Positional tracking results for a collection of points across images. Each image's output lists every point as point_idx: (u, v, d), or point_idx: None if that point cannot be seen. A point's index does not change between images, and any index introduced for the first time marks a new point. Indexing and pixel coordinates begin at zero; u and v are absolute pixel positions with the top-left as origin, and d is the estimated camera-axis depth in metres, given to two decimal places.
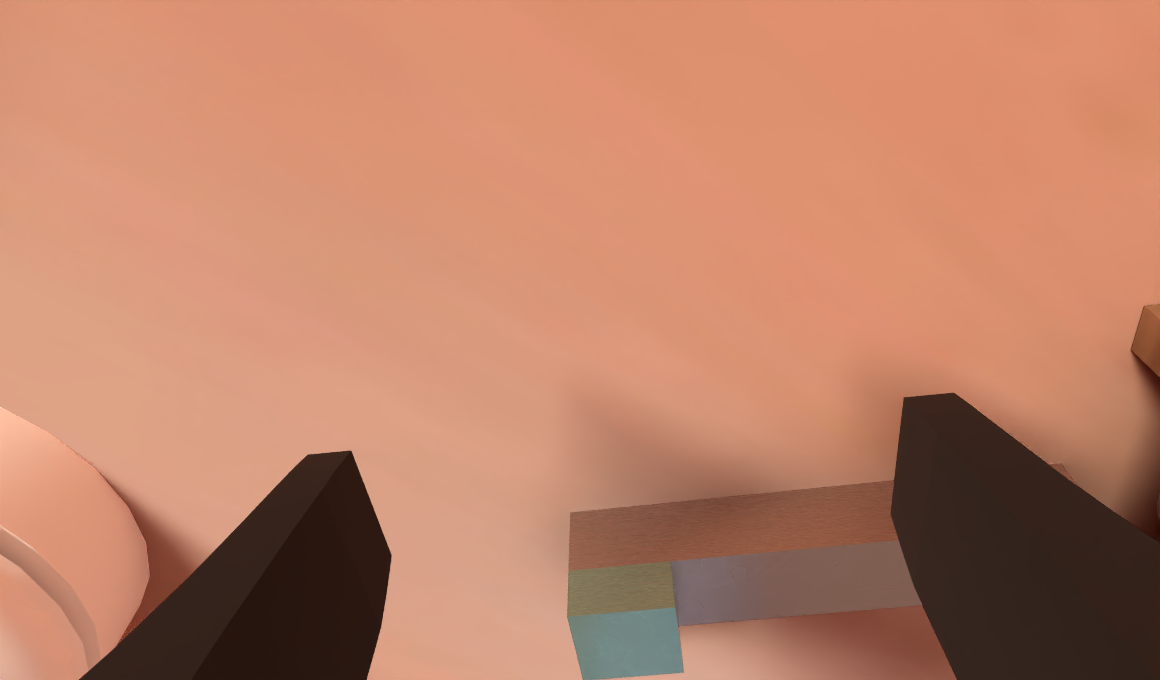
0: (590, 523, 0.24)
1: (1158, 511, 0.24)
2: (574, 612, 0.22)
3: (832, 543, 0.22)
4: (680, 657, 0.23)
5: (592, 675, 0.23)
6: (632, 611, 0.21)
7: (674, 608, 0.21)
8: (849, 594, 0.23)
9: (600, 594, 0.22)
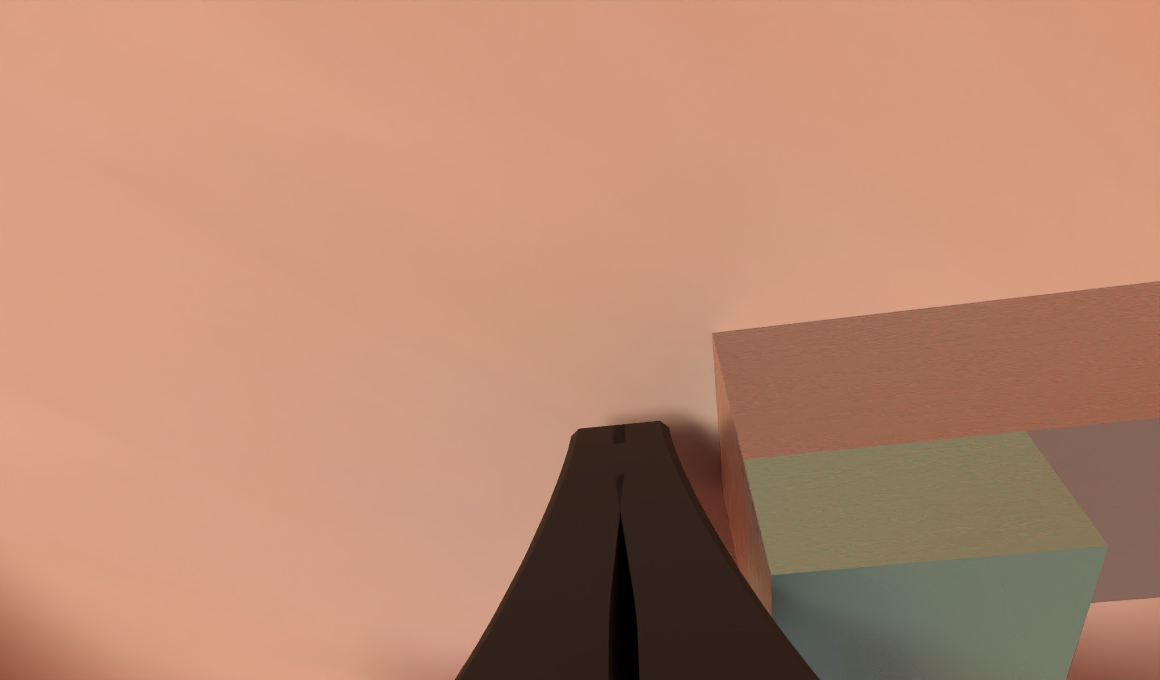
0: (771, 361, 0.10)
1: None
2: (789, 563, 0.07)
3: None
4: None
5: None
6: (972, 560, 0.07)
7: (1103, 549, 0.07)
8: None
9: (854, 514, 0.08)
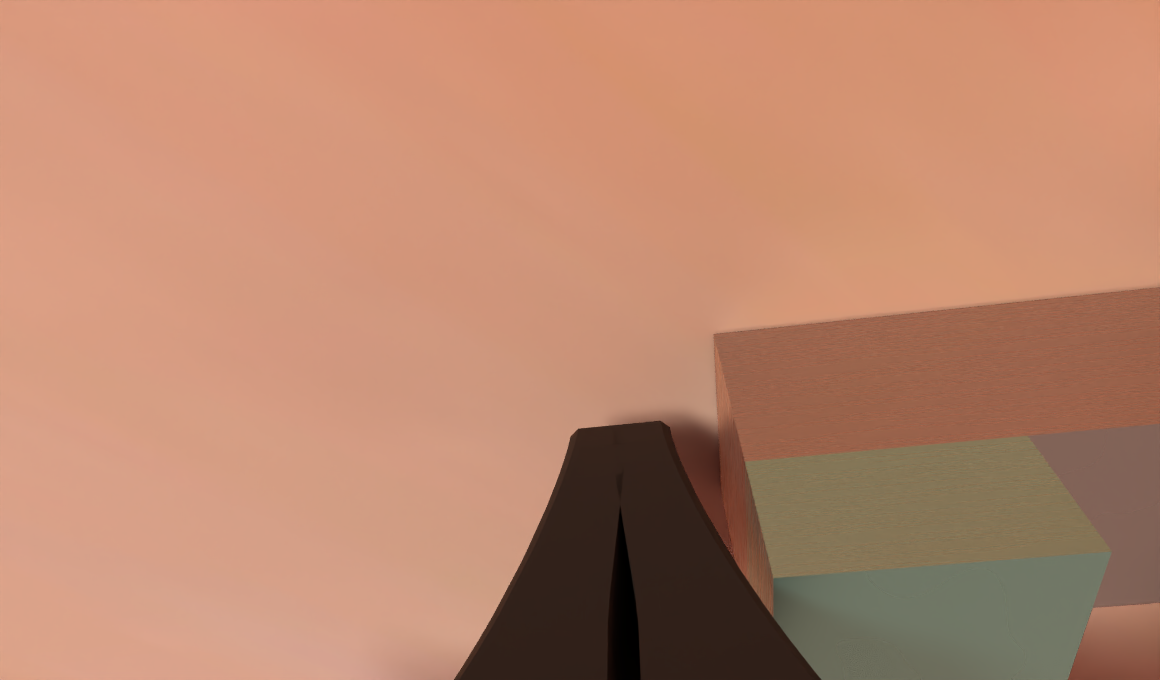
0: (772, 363, 0.10)
1: None
2: (791, 566, 0.07)
3: None
4: None
5: None
6: (975, 565, 0.07)
7: (1106, 555, 0.07)
8: None
9: (856, 517, 0.08)
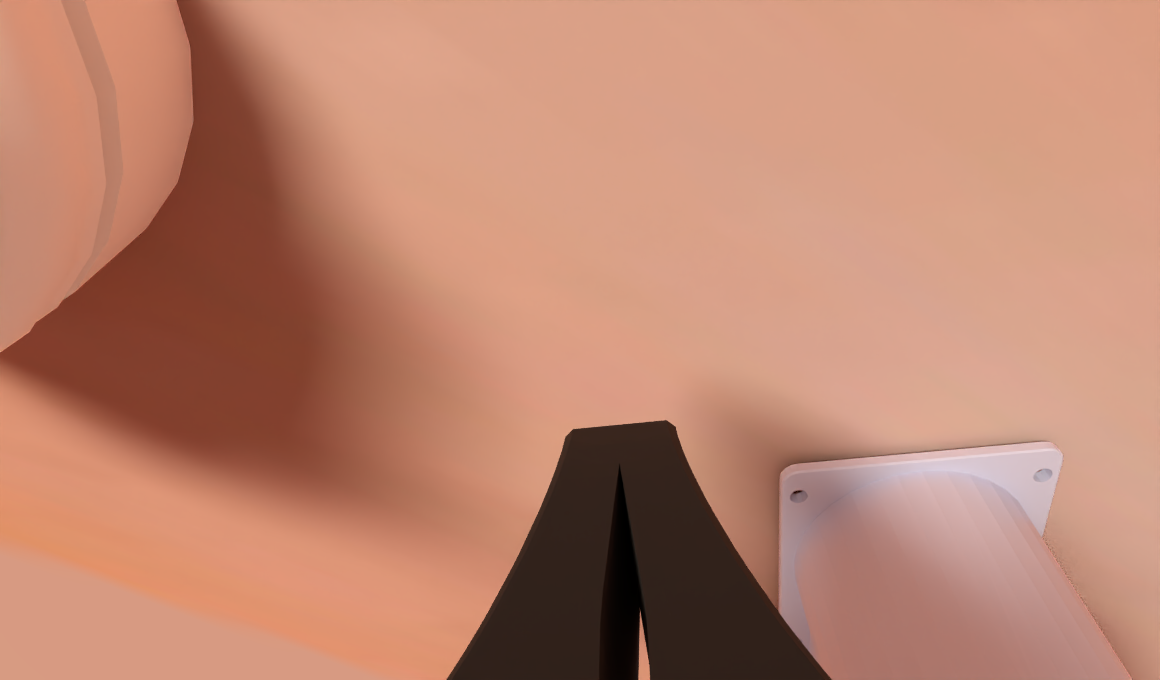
0: None
1: None
2: None
3: None
4: None
5: None
6: None
7: None
8: None
9: None
